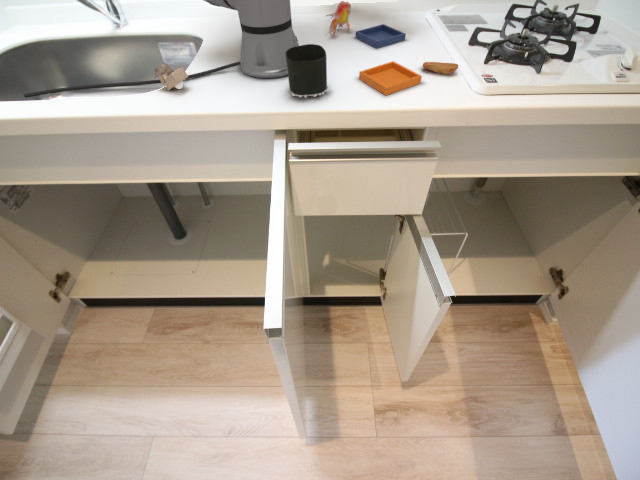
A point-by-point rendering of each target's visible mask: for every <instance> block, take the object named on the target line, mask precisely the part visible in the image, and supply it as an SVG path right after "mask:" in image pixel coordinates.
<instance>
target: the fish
mask: <svg viewBox="0 0 640 480" xmlns="http://www.w3.org/2000/svg"><path fill="white" fill-rule="evenodd" d="M351 10H352V5H351V4H350V2H348V1H344V0H341V1H340V2H339V3H338V4H337V7H336V10H334V11H335V12H334V13H329V14H326V15H325V17H330V19H332V21H331V24H330V27H329V30H328V31H327V33H326V34H325V36H327V35H328V34H329V35H332V36H335V35H336V30H337V29H339V28H343V27H344V25H345V24H346V29H347V31H348V32H350V27H351V24H350V22H349V16H350V14H351Z"/></svg>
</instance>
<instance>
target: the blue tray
mask: <svg viewBox="0 0 640 480" xmlns="http://www.w3.org/2000/svg"><path fill="white" fill-rule="evenodd" d="M406 35H407V33H406V32H403V31H402V30H401V31H400V30H398V29H395V28H394V27H392V26H389V25H387V24H385V23H381V24H378V25H375V26H371V27H367V28H363V29H359V30H356V31H355V36H354V39H357V40H359V41H361V42H363V43H365V44H367V45H369V46H371V47H373V48H375V49H380V48H383V47H386V46H390V45H394V44H396V43H401V42H404V41H406V37H407V36H406Z"/></svg>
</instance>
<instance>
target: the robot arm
mask: <svg viewBox="0 0 640 480" xmlns="http://www.w3.org/2000/svg"><path fill="white" fill-rule="evenodd" d="M202 1H203V2H205V3H208V4H209V5H212V6H215V7H220V8H225V9H228V10H233V11H237V15H238V20H239V24H240V29H241V40H240V41H241V42H240V54H239V55H240V57H239V60H238V61H236V62H232V63H228V64H225V65H222V66H218V67H215V68H211V69H208V70H205V71H201V72H197V73H192V74H187V75H188V77H187V78H186V79H184V80H183V81H185V80H188V79H193V78H198V77H203V76H207V75H210V74H214V73H218V72H220V71H223V70H226V69H231V68H234V67H238V66H240V68H241V71H242V72H243V73H244V74H245V75H247V76H249V77H251V78H257V79H277V78H282V77H286V76H288V68H287V61H286V51H287V50H288V49H290V48H292V47H296V46H300V45H299V43H298V42H299V40H298V37H297V35H296V34H295V31H294V29H293V22H292V21H293V20H292V9H291V0H202ZM154 84H162V83H161V81H160V79H152V80H151V79H150V80H141V81H127V82H111V83H96V84H86V85H75V86H67V87H57V88H51V89H46V90H40V91H33V92H28V93H24V94H23V97H24V98H26V99H27V98H33V97H37V96H44V95H49V94H55V93H62V92H71V91H78V90H79V91H80V90H90V89H101V88H115V87H118V88H119V87H131V86H144V85H154Z"/></svg>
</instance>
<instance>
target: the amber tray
mask: <svg viewBox="0 0 640 480" xmlns="http://www.w3.org/2000/svg"><path fill="white" fill-rule="evenodd" d="M358 73H359V77H358V78H359V80H360V81H361V82H363V83H365V84H367V85H368V86H369V87H372V89H374V90H376V91H378V92H379V93H381V94H382V95H384V96H388V95H391V94H394V93H397V92H400V91H402V90H405V89H408V88H411V87H413V86H416V85H420V84H421V82H422V76H423V75H421V74H419V73H418V72H415V71H413V70H411V69H409V68H407V67H405V66H403V65H402V64H399V63H398V62H395V61H394V60H392V61H390V62H386V63H383V64H379V65H377V66H374V67H370V68H367V69H364V70H360V71H359V72H358Z"/></svg>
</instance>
